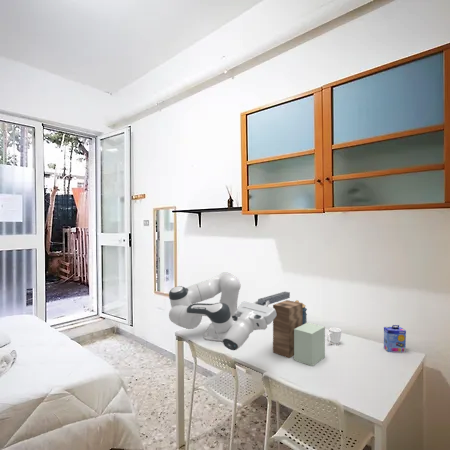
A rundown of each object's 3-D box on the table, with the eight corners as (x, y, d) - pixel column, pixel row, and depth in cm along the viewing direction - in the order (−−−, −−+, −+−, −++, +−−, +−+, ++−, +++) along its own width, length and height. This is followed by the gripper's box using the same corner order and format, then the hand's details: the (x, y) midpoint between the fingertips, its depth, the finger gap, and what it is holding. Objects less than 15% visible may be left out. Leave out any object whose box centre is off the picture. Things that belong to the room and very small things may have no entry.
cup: (344, 344, 174) (344, 330, 174) (332, 347, 169) (332, 333, 169) (334, 340, 181) (334, 326, 180) (322, 343, 175) (322, 329, 175)
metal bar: (262, 306, 146) (263, 300, 146) (258, 305, 148) (258, 299, 148) (289, 297, 163) (289, 292, 163) (284, 296, 165) (284, 291, 165)
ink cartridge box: (387, 352, 163) (387, 325, 163) (383, 348, 169) (383, 322, 169) (406, 352, 163) (406, 326, 163) (401, 348, 168) (401, 322, 168)
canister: (306, 330, 198) (306, 303, 198) (286, 328, 202) (286, 301, 201) (307, 323, 210) (306, 298, 210) (288, 322, 214) (288, 297, 214)
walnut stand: (289, 358, 156) (288, 308, 156) (273, 352, 163) (273, 304, 163) (302, 349, 166) (302, 303, 166) (287, 344, 173) (287, 300, 173)
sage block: (312, 366, 147) (312, 333, 147) (294, 360, 154) (294, 328, 154) (324, 357, 157) (324, 326, 157) (307, 351, 164) (307, 322, 164)
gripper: (235, 320, 149) (250, 301, 158) (268, 330, 135) (283, 309, 143) (230, 310, 147) (246, 292, 155) (264, 319, 133) (279, 299, 141)
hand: (264, 300), depth 149 cm, fingers closed on metal bar, 3 cm apart
